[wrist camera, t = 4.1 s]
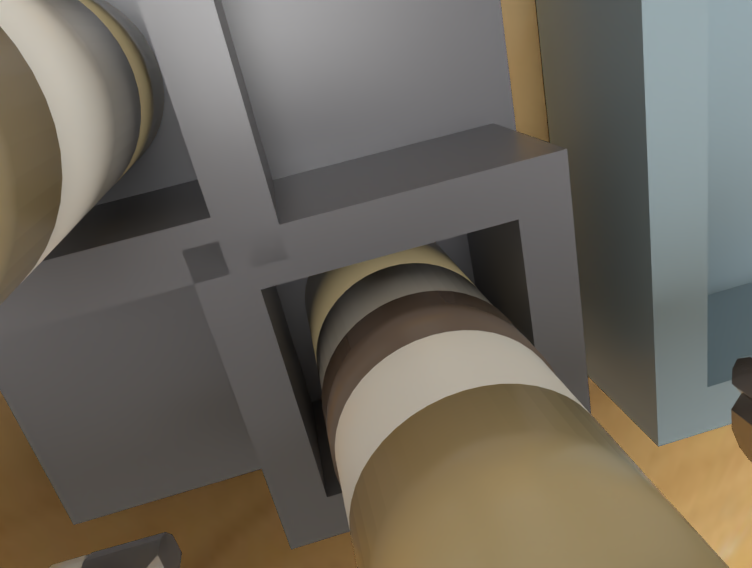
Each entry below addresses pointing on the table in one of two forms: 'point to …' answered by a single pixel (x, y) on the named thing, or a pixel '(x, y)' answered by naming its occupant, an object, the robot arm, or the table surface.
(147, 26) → the fuse holder
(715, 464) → the table surface
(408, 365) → the fuse
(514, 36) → the table surface
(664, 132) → the parts tray
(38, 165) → the cylinder
